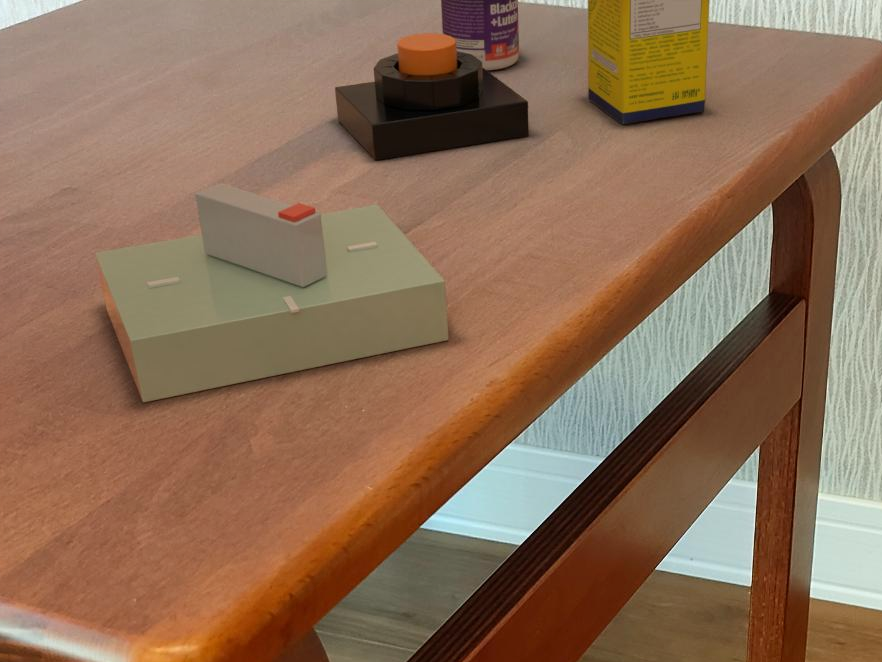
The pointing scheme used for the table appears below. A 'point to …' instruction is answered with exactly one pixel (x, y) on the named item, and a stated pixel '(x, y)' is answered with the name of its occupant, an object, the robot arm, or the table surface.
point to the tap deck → (268, 307)
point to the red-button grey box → (262, 234)
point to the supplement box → (647, 57)
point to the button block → (430, 109)
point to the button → (427, 54)
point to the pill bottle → (484, 29)
